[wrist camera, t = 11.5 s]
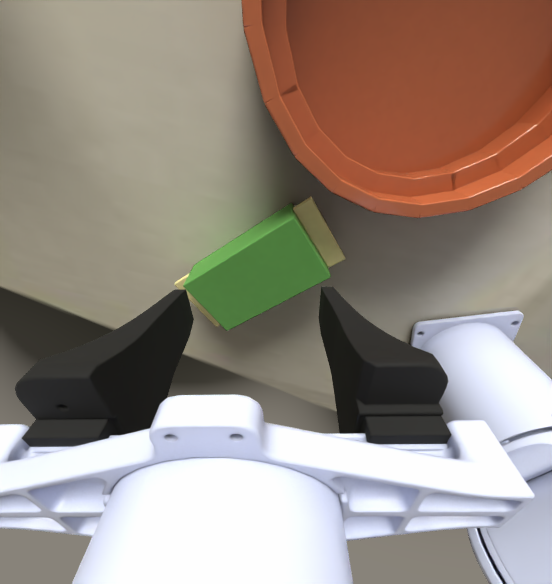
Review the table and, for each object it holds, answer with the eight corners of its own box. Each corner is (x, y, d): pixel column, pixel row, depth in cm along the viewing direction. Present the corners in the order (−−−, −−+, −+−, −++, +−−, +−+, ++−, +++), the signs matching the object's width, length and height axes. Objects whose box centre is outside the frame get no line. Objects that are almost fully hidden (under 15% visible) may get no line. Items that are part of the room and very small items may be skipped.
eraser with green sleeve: (340, 248, 18) (350, 268, 16) (220, 314, 21) (213, 338, 19) (309, 191, 16) (314, 203, 14) (181, 272, 19) (167, 294, 17)
